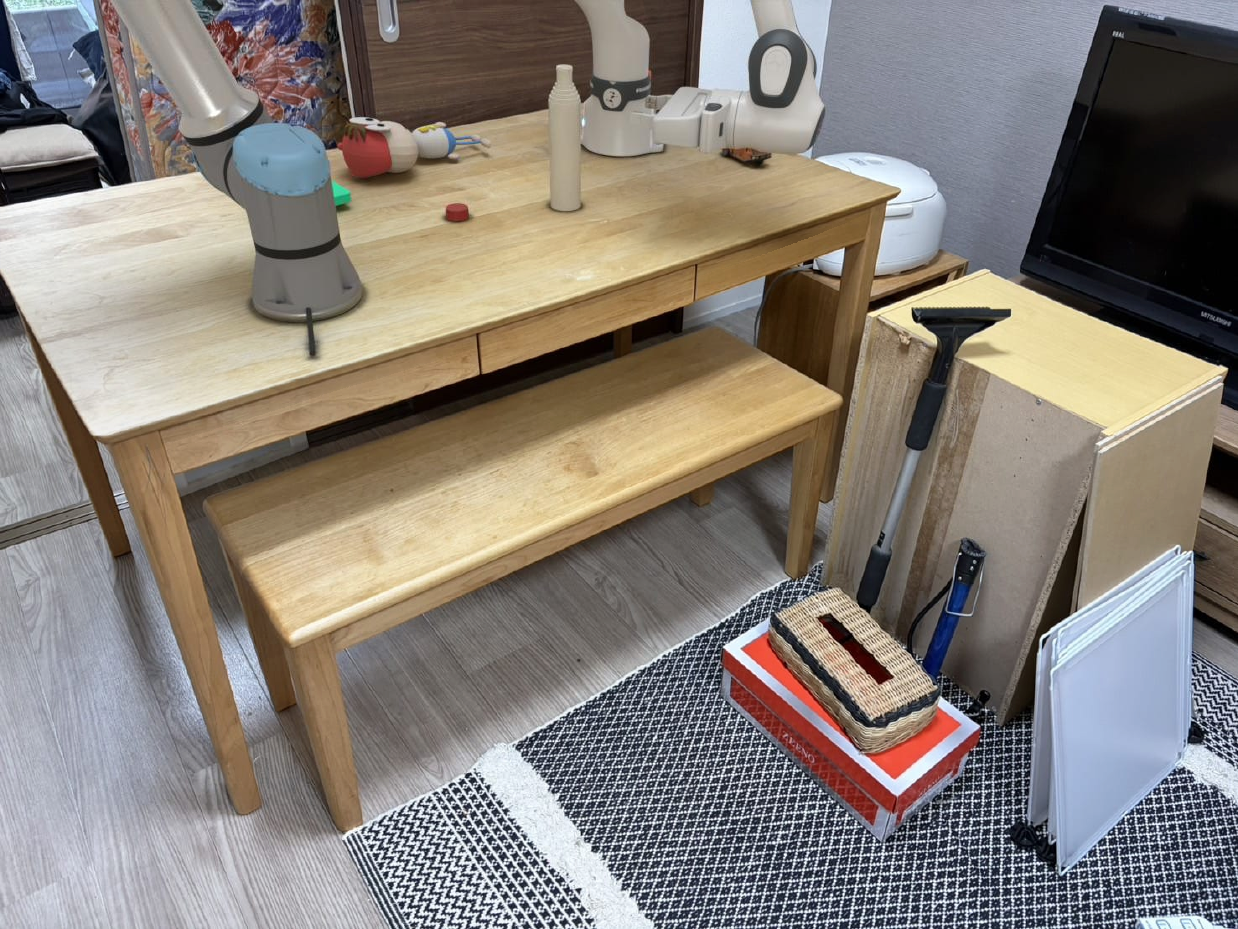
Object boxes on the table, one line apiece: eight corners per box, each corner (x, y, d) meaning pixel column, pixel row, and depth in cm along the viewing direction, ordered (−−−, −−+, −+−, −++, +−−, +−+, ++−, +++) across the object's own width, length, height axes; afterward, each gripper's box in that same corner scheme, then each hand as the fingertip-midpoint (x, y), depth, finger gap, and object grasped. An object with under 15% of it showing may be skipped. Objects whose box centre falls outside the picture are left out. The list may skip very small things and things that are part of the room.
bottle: (575, 212, 163) (575, 71, 149) (546, 209, 165) (543, 68, 150) (584, 201, 168) (584, 63, 153) (555, 198, 169) (553, 60, 154)
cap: (468, 212, 162) (467, 202, 161) (469, 221, 159) (468, 210, 158) (446, 213, 162) (445, 203, 161) (446, 222, 159) (445, 211, 158)
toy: (506, 124, 177) (353, 127, 162) (506, 178, 182) (356, 186, 167) (466, 108, 191) (320, 110, 176) (466, 159, 195) (325, 165, 180)
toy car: (734, 147, 194) (738, 113, 189) (776, 163, 186) (781, 128, 182) (712, 153, 190) (715, 118, 186) (754, 169, 183) (758, 134, 179)
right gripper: (734, 81, 156) (655, 73, 159) (710, 115, 140) (622, 106, 143) (730, 119, 160) (653, 111, 163) (706, 157, 144) (621, 147, 147)
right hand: (638, 109), depth 153 cm, fingers open, 8 cm apart
